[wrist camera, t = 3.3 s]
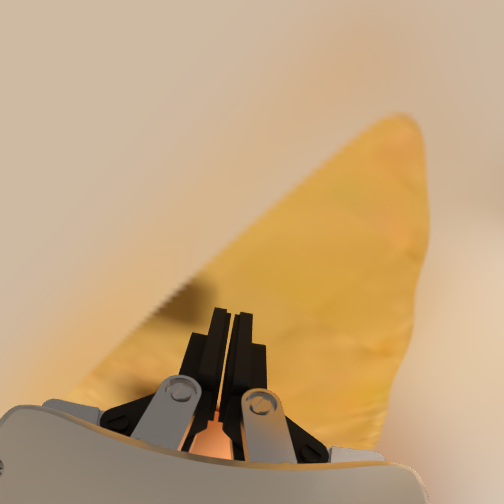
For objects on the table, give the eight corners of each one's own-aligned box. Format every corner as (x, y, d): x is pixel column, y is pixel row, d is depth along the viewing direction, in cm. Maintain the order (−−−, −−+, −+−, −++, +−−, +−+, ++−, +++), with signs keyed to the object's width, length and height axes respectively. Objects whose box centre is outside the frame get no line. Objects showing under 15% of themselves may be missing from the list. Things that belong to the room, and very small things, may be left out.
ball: (234, 439, 18) (230, 495, 13) (168, 421, 17) (153, 477, 12) (261, 407, 16) (262, 475, 11) (183, 384, 16) (164, 454, 10)
